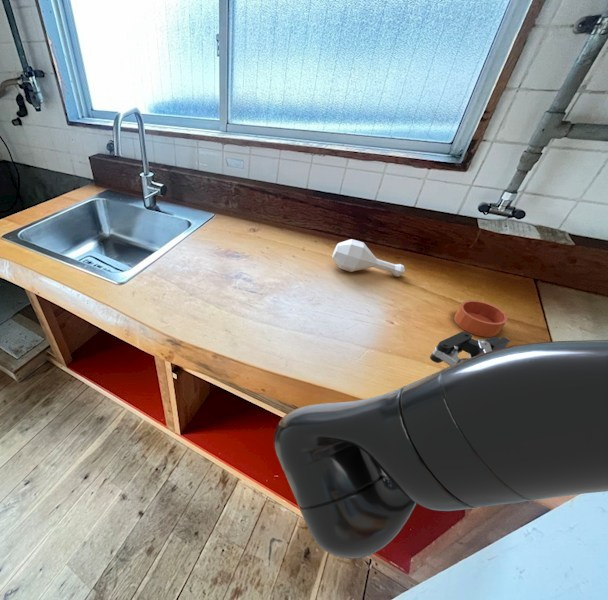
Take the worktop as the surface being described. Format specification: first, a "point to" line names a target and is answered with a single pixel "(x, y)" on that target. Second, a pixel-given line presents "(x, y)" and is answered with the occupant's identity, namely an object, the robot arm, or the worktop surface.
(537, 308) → the worktop surface
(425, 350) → the worktop surface
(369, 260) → the chicken leg
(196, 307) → the worktop surface
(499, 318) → the can holder
